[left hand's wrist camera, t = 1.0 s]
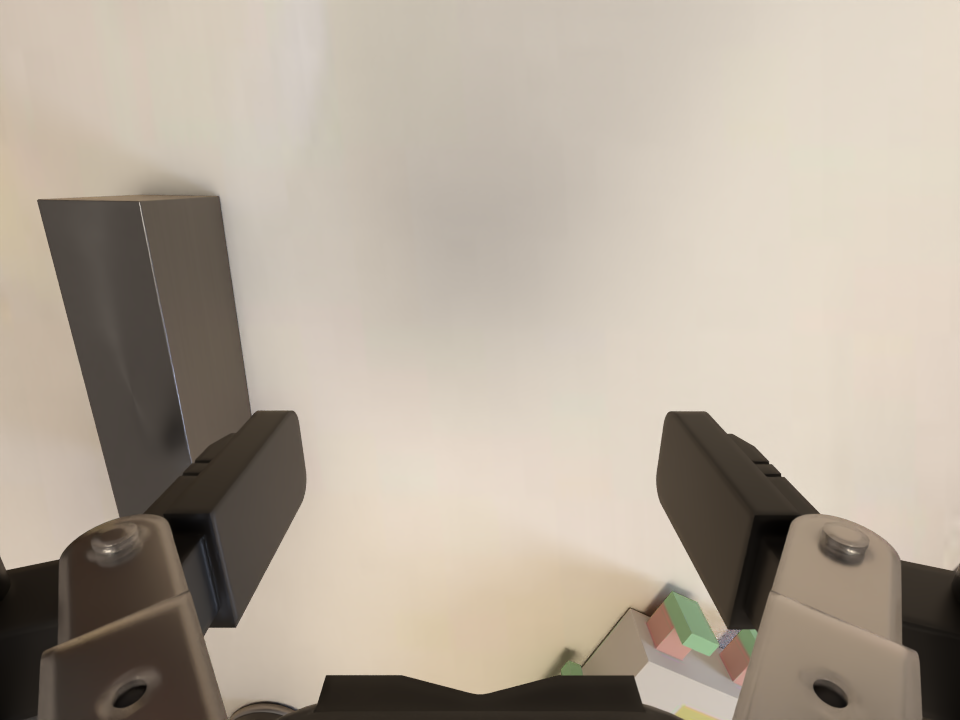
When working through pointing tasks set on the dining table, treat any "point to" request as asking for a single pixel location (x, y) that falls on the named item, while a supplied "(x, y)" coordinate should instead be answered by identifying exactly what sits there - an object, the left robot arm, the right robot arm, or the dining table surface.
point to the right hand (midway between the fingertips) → (56, 608)
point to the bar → (150, 331)
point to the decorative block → (675, 660)
